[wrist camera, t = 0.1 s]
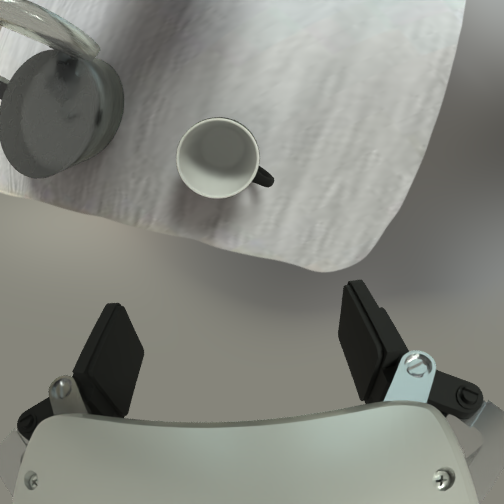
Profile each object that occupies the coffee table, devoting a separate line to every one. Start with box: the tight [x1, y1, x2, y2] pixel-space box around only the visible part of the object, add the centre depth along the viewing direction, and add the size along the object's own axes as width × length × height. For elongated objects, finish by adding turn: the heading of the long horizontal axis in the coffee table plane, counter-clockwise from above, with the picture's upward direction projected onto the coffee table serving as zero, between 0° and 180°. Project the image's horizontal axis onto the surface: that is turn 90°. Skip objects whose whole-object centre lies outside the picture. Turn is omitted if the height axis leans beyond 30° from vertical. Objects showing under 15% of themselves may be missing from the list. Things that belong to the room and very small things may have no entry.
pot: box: [0, 49, 124, 178], centre depth 27 cm, size 17×24×10 cm
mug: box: [176, 117, 274, 199], centre depth 33 cm, size 12×9×10 cm
